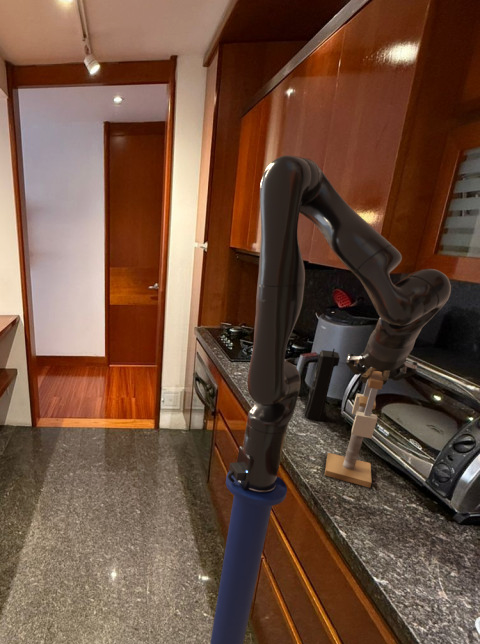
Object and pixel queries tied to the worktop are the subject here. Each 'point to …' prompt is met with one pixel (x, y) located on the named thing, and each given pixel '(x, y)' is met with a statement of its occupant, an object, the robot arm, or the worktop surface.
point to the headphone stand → (351, 459)
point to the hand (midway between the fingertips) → (372, 381)
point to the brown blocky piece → (367, 407)
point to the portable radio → (321, 385)
